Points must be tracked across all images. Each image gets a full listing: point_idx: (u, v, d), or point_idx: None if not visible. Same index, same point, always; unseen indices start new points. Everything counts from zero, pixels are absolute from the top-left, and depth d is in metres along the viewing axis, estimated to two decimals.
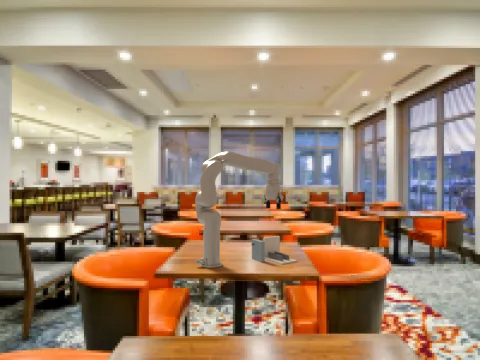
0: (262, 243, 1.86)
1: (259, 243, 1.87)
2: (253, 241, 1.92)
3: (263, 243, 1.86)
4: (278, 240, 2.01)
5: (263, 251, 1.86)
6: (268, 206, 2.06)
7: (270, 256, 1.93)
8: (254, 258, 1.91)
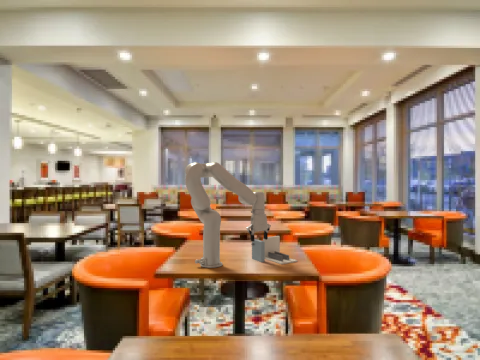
0: (262, 243, 1.86)
1: (259, 243, 1.87)
2: None
3: (263, 243, 1.86)
4: (278, 240, 2.01)
5: (263, 251, 1.86)
6: None
7: (270, 256, 1.93)
8: (254, 258, 1.91)
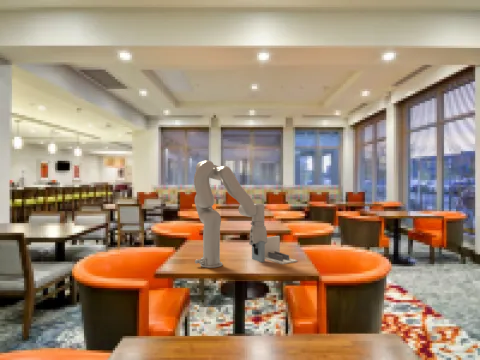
0: (262, 243, 1.86)
1: (259, 243, 1.87)
2: None
3: (263, 243, 1.86)
4: (278, 240, 2.01)
5: (263, 251, 1.86)
6: None
7: (270, 256, 1.93)
8: (254, 258, 1.91)
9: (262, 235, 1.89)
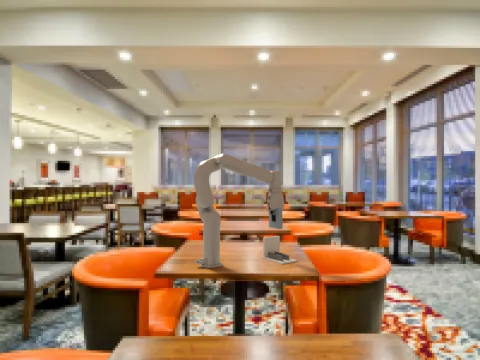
0: (280, 210, 1.87)
1: (277, 210, 1.88)
2: None
3: (281, 210, 1.87)
4: (278, 240, 2.01)
5: (281, 218, 1.87)
6: None
7: (270, 256, 1.93)
8: (272, 226, 1.92)
9: (279, 202, 1.89)
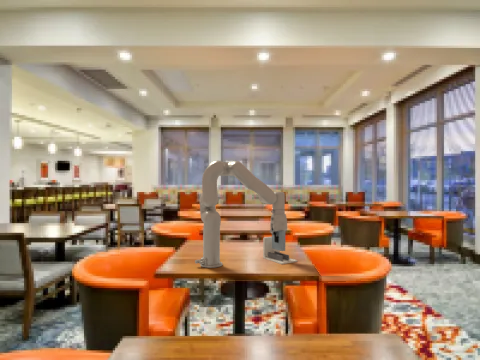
0: (283, 232, 1.86)
1: (280, 232, 1.88)
2: (273, 230, 1.93)
3: (284, 232, 1.87)
4: None
5: (284, 240, 1.87)
6: None
7: (270, 256, 1.93)
8: (274, 247, 1.92)
9: (283, 223, 1.89)
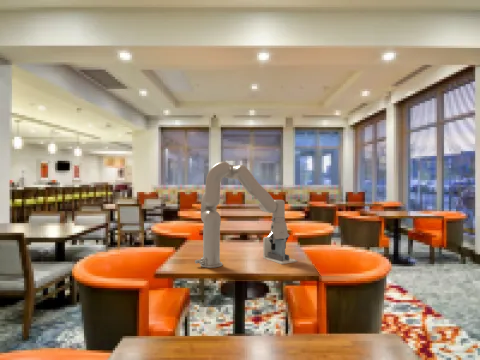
0: (283, 241, 1.86)
1: (280, 241, 1.88)
2: (273, 239, 1.93)
3: (284, 241, 1.87)
4: None
5: (284, 249, 1.87)
6: None
7: (270, 256, 1.93)
8: None
9: (283, 231, 1.89)
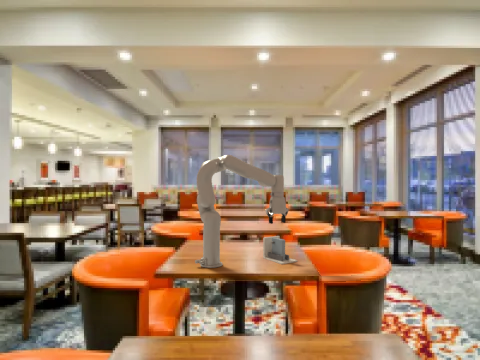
0: (283, 241, 1.86)
1: (280, 241, 1.88)
2: (273, 239, 1.93)
3: (284, 241, 1.87)
4: None
5: (284, 249, 1.87)
6: None
7: (270, 256, 1.93)
8: None
9: (281, 206, 1.90)
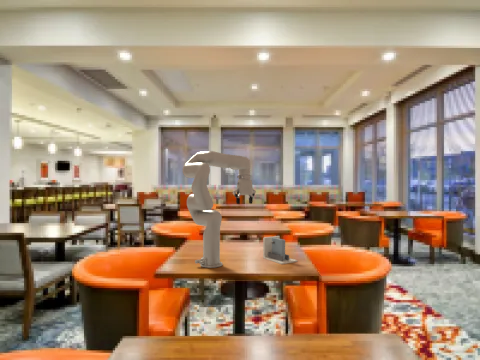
0: (283, 241, 1.86)
1: (280, 241, 1.88)
2: (273, 239, 1.93)
3: (284, 241, 1.87)
4: None
5: (284, 249, 1.87)
6: None
7: (270, 256, 1.93)
8: None
9: (248, 188, 2.04)
